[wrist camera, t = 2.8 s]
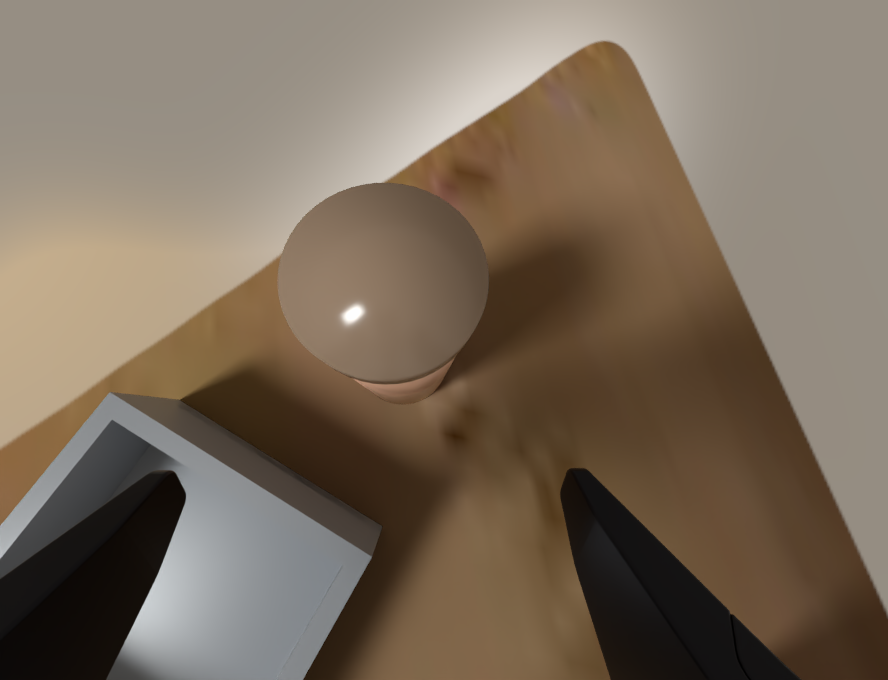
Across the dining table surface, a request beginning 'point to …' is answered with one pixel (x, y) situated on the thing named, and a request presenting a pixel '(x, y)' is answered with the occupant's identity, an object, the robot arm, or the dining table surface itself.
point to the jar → (384, 287)
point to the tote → (207, 543)
